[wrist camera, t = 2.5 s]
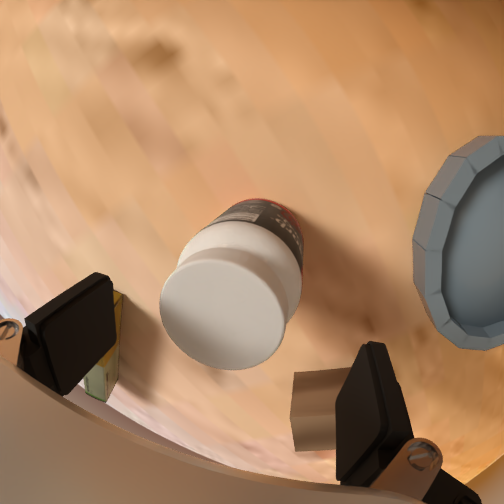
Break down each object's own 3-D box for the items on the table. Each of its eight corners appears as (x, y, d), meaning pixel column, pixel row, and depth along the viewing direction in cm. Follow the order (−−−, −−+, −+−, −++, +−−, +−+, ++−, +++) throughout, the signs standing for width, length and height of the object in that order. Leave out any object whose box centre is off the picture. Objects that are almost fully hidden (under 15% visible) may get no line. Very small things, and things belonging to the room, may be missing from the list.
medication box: (120, 379, 28) (106, 405, 24) (99, 369, 27) (83, 394, 24) (125, 293, 23) (103, 321, 19) (98, 282, 23) (74, 307, 19)
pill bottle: (312, 269, 19) (315, 372, 10) (233, 287, 21) (183, 385, 12) (289, 185, 18) (274, 225, 9) (205, 209, 19) (122, 266, 10)
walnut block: (294, 371, 23) (289, 417, 18) (354, 366, 22) (361, 411, 17) (299, 408, 24) (295, 451, 20) (352, 404, 23) (356, 447, 18)
